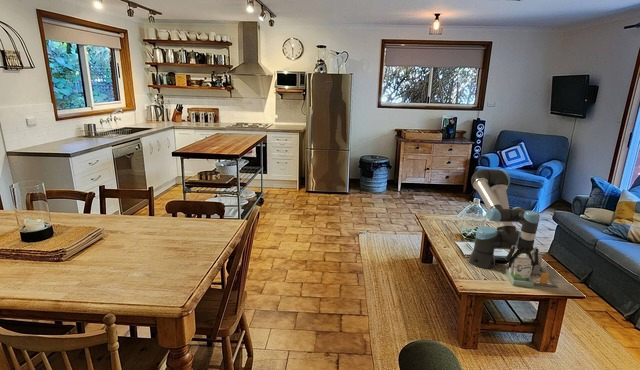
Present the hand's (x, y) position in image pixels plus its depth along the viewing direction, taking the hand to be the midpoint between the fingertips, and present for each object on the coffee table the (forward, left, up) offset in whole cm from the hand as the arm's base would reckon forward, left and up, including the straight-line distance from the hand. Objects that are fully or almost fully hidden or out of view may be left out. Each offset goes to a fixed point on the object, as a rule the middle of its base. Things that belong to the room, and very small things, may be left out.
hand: (519, 273), depth 211 cm
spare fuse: (+13, +16, -4) cm, 21 cm away
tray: (0, 0, -4) cm, 4 cm away
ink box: (0, 0, -2) cm, 2 cm away
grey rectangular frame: (+13, +10, -4) cm, 17 cm away
